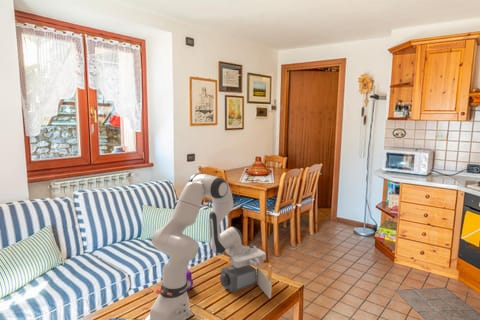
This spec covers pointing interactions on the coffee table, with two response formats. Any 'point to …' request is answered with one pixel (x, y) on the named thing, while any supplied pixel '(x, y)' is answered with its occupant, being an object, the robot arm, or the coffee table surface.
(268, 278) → the thin white panel
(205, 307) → the coffee table surface
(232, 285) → the gray box camera
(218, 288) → the coffee table surface
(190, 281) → the toy camera
